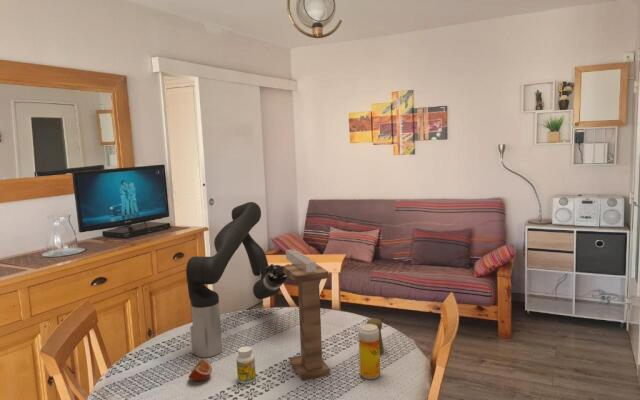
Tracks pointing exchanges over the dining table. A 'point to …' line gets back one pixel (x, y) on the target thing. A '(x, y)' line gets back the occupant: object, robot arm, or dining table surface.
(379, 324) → the cork
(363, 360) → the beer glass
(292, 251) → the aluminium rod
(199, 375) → the fruit slice
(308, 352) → the walnut stand
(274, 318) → the dining table surface
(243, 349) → the supplement bottle
